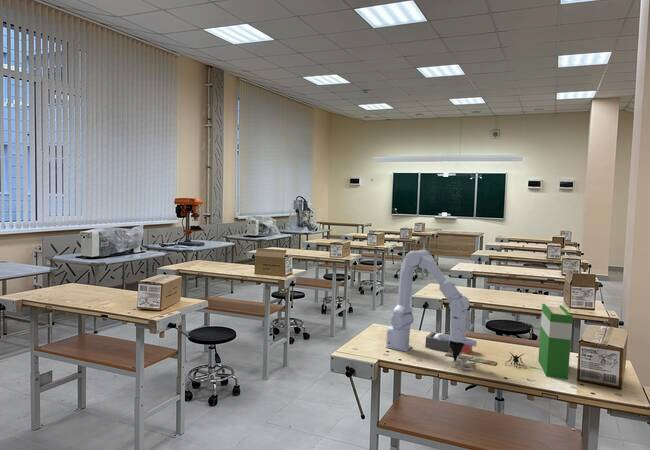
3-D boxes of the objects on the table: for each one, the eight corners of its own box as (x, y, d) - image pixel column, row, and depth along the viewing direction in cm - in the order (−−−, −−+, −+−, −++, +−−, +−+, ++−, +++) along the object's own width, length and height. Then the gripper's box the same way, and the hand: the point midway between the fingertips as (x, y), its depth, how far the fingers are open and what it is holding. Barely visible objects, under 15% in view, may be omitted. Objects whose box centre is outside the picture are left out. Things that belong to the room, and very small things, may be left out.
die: (457, 351, 197) (458, 339, 196) (460, 348, 201) (460, 337, 201) (469, 354, 194) (470, 342, 194) (471, 350, 199) (472, 339, 198)
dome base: (425, 347, 201) (425, 337, 201) (431, 341, 210) (431, 331, 209) (448, 351, 196) (448, 341, 196) (453, 345, 205) (454, 335, 205)
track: (445, 355, 191) (445, 354, 191) (447, 353, 194) (447, 352, 194) (495, 365, 182) (495, 364, 182) (496, 362, 185) (496, 361, 185)
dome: (430, 346, 202) (430, 333, 201) (434, 342, 207) (434, 330, 207) (445, 349, 198) (446, 336, 198) (448, 345, 204) (449, 332, 204)
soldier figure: (481, 369, 179) (469, 367, 170) (470, 375, 181) (458, 374, 172) (470, 351, 184) (458, 348, 175) (460, 357, 185) (448, 355, 177)
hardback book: (538, 360, 190) (542, 303, 188) (557, 363, 188) (562, 305, 186) (546, 376, 173) (550, 313, 171) (567, 379, 171) (572, 315, 169)
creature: (526, 373, 178) (526, 362, 185) (527, 361, 177) (527, 350, 184) (504, 369, 181) (505, 359, 188) (505, 357, 180) (506, 347, 187)
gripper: (478, 327, 181) (476, 361, 182) (442, 321, 188) (440, 354, 189) (475, 332, 175) (473, 366, 176) (437, 325, 182) (435, 359, 183)
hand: (455, 360), depth 182 cm, fingers closed
